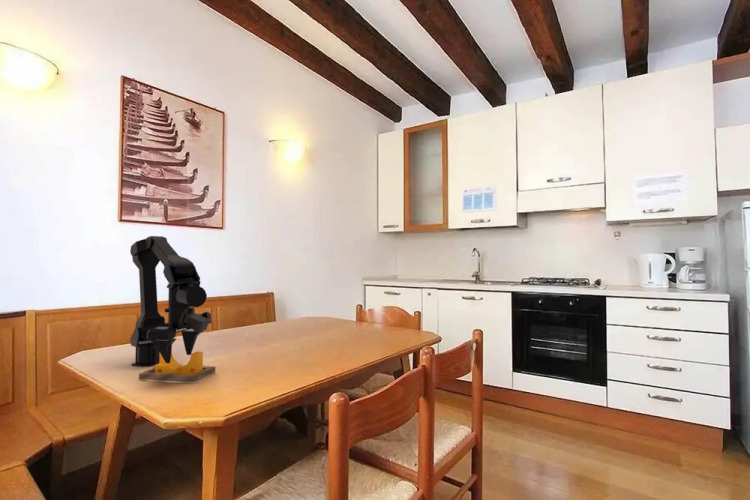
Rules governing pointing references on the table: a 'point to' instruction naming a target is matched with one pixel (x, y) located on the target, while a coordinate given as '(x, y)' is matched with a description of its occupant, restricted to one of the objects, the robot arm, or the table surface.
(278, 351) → the table surface
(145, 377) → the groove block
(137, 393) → the table surface
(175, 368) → the pipe clamp
